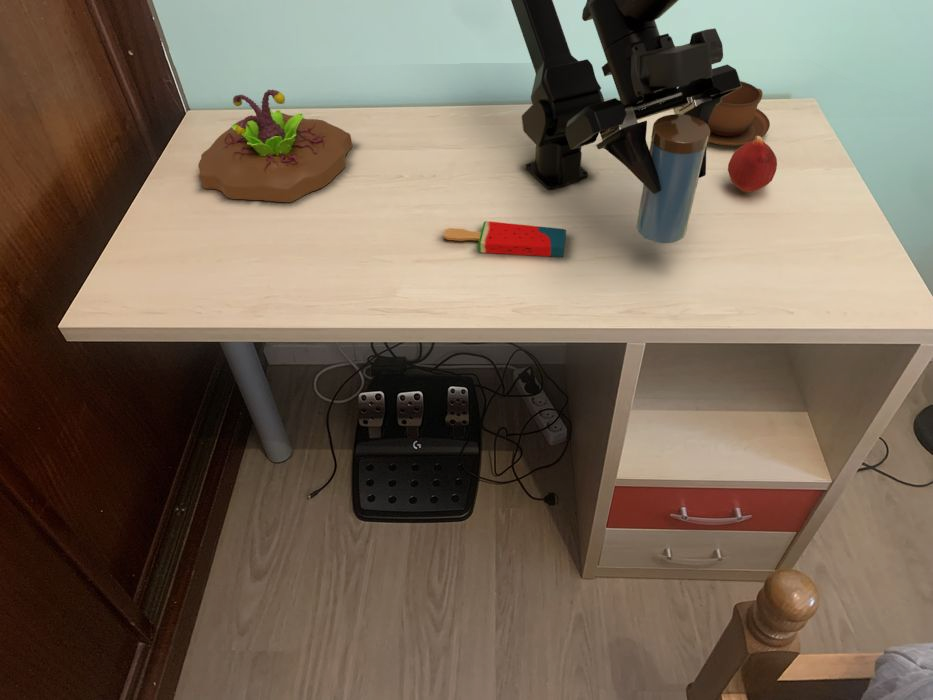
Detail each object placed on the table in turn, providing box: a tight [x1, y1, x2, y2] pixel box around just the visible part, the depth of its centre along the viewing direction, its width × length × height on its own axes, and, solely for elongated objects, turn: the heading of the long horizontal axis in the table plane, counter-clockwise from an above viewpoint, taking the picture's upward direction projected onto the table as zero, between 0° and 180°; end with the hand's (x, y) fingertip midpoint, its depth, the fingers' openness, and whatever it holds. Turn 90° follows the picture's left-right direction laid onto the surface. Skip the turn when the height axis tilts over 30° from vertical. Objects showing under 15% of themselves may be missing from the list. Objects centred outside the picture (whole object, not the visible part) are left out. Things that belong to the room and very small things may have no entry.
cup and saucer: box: [708, 80, 771, 146], centre depth 105 cm, size 12×12×6 cm
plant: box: [197, 89, 353, 203], centre depth 101 cm, size 20×20×11 cm
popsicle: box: [442, 220, 567, 258], centre depth 91 cm, size 4×2×15 cm
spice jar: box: [635, 113, 710, 244], centre depth 78 cm, size 6×6×12 cm
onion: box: [727, 136, 778, 194], centre depth 94 cm, size 6×6×8 cm
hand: (679, 184), depth 77 cm, fingers closed on spice jar, 5 cm apart
